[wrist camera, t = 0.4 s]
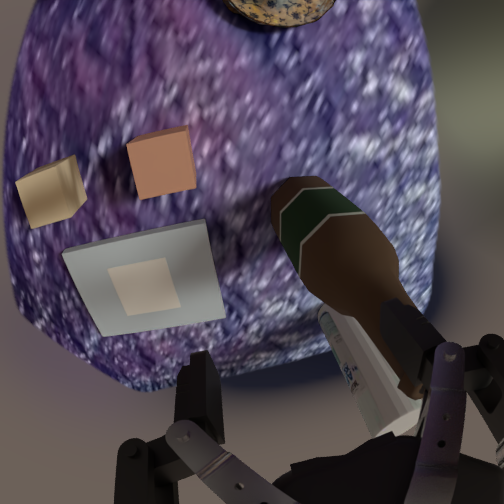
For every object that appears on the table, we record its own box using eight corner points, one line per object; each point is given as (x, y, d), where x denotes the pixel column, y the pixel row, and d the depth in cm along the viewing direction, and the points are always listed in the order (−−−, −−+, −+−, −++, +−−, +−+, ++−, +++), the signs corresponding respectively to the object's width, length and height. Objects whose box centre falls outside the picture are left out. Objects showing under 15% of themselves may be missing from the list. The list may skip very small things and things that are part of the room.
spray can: (360, 315, 43) (424, 420, 26) (322, 334, 44) (375, 447, 27) (352, 285, 40) (429, 400, 23) (310, 306, 41) (371, 432, 23)
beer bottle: (282, 248, 35) (376, 439, 15) (255, 191, 31) (362, 390, 11) (341, 219, 35) (477, 376, 14) (321, 160, 31) (501, 298, 10)
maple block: (37, 167, 25) (15, 181, 21) (75, 154, 26) (55, 166, 21) (50, 209, 28) (31, 228, 23) (87, 198, 28) (71, 217, 24)
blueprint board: (65, 248, 30) (61, 254, 29) (204, 218, 32) (205, 223, 31) (104, 330, 37) (102, 337, 36) (224, 311, 38) (226, 318, 37)
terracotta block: (137, 136, 26) (126, 144, 22) (187, 124, 27) (185, 130, 22) (147, 183, 29) (139, 200, 24) (196, 173, 29) (196, 188, 25)
